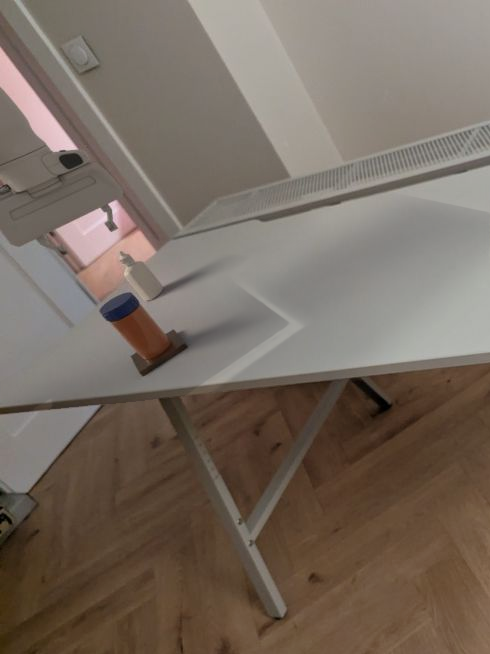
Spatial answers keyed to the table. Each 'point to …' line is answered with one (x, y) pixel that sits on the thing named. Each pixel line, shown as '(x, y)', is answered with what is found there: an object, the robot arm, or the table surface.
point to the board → (171, 351)
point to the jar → (142, 333)
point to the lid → (119, 307)
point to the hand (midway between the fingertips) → (89, 242)
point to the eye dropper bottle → (140, 277)
